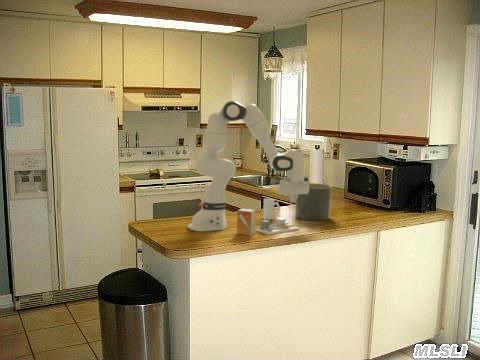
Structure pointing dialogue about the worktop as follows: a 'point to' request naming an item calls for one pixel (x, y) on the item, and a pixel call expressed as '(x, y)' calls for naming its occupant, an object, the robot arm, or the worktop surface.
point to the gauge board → (275, 228)
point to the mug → (269, 209)
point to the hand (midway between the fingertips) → (292, 202)
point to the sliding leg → (281, 222)
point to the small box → (246, 221)
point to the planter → (314, 203)
